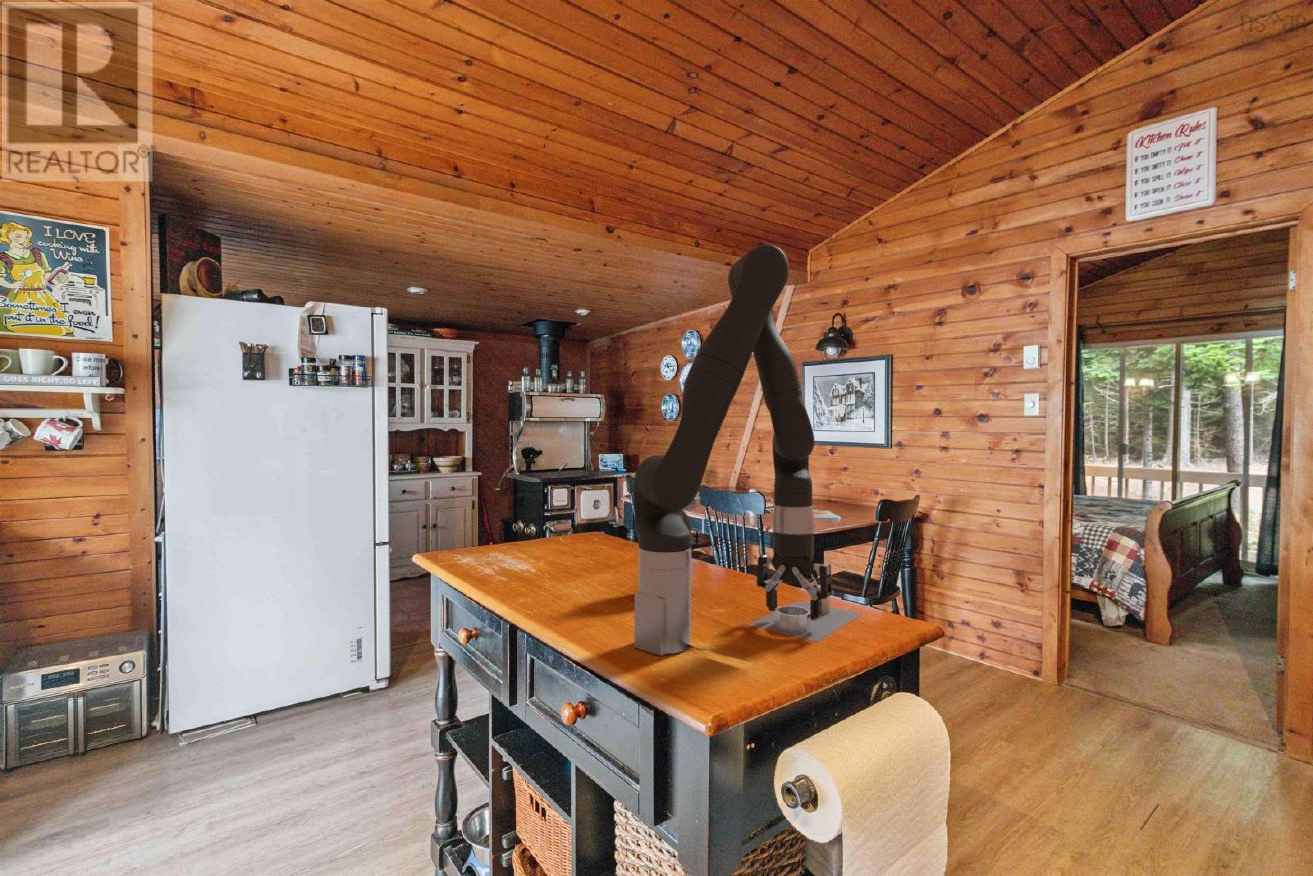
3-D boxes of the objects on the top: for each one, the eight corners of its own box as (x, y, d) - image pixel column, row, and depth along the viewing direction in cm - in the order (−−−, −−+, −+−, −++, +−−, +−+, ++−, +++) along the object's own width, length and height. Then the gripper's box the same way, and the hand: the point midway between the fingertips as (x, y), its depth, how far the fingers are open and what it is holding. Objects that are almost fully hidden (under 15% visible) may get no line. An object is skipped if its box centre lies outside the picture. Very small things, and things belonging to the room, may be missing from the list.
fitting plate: (817, 647, 105) (817, 613, 105) (747, 630, 114) (748, 598, 114) (862, 618, 122) (862, 588, 121) (798, 605, 130) (798, 577, 130)
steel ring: (801, 635, 109) (801, 618, 109) (768, 627, 113) (768, 611, 113) (816, 626, 114) (817, 610, 114) (785, 618, 118) (785, 603, 118)
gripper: (749, 527, 115) (750, 612, 115) (821, 536, 106) (821, 627, 106) (768, 522, 121) (769, 603, 121) (837, 530, 112) (837, 617, 112)
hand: (793, 614), depth 114 cm, fingers open, 8 cm apart
